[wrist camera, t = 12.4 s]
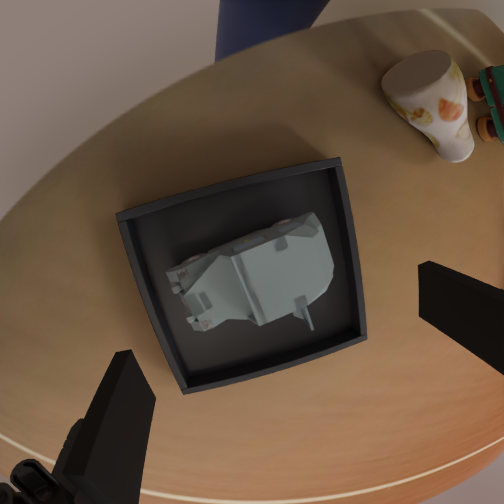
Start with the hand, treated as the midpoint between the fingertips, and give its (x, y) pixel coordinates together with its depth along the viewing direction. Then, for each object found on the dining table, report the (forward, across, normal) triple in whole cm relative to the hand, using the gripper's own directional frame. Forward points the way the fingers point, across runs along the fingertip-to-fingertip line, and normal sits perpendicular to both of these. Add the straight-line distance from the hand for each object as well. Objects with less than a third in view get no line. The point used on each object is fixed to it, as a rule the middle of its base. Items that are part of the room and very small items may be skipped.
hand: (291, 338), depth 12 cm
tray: (+10, 0, 0) cm, 10 cm away
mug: (+10, +18, +10) cm, 23 cm away
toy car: (+10, 0, 0) cm, 10 cm away
